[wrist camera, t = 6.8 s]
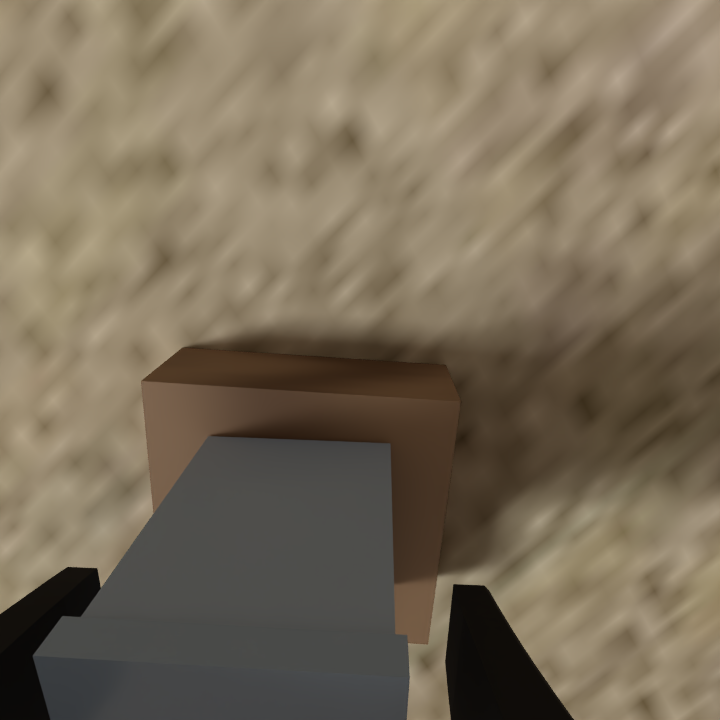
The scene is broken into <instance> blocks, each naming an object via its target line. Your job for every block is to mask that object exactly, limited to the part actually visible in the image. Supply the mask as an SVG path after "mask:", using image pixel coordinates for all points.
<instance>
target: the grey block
mask: <svg viewBox="0 0 720 720" xmlns="http://www.w3.org/2000/svg"><path fill="white" fill-rule="evenodd" d="M33 659H34V663H35V666H36V670H37V673H38V677H39V681H40V684H41V688H42V691H43V695H44V698H45V702H46V706H47V709H48V713H49V716H50V720H406V719H407V706H408V692H409V679H410V676H409V657H408V638H407V635H401V634H395V601H394V562H393V523H392V484H391V445H390V443H369V442H343V441H318V440H293V439H268V438H243V437H218V436H208V437H207V439H206V440H205V441H204V443H203V444H202V446H201V447H200V449H199V450H198V451H197V453H196V454H195V456H194V457H193V458H192V460H191V461H190V463H189V464H188V466H187V467H186V468H185V470H184V471H183V473H182V474H181V475H180V477H179V478H178V480H177V481H176V483H175V484H174V485H173V487H172V488H171V490H170V491H169V493H168V494H167V495H166V497H165V498H164V500H163V501H162V502H161V504H160V505H159V507H158V508H157V510H156V511H155V512H154V514H153V515H152V517H151V518H150V519H149V521H148V522H147V524H146V525H145V527H144V528H143V529H142V531H141V532H140V534H139V535H138V536H137V538H136V539H135V541H134V542H133V544H132V545H131V546H130V548H129V549H128V551H127V552H126V554H125V555H124V556H123V558H122V559H121V561H120V562H119V563H118V565H117V566H116V568H115V569H114V571H113V572H112V573H111V575H110V576H109V578H108V579H107V580H106V582H105V583H104V585H103V586H102V588H101V589H100V590H99V592H98V593H97V595H96V596H95V597H94V599H93V600H92V602H91V603H90V605H89V606H88V607H87V609H86V610H85V612H84V613H83V615H82V616H81V617H70V616H62V617H61V619H60V620H59V621H58V623H57V624H56V625H55V627H54V628H53V629H52V631H51V632H50V633H49V635H48V636H47V637H46V639H45V640H44V641H43V643H42V644H41V645H40V647H39V648H38V649H37V651H36V652H35V653H34V655H33Z"/></svg>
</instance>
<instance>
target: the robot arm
mask: <svg viewBox="0 0 720 720" xmlns="http://www.w3.org/2000/svg"><path fill="white" fill-rule="evenodd" d="M100 589H101V587H100V581H99V576H98V570H97V568H77V567H67V568H66V569H64V570H63V571H61V572H60V573H58V574H57V575H55V576H54V577H52V578H51V579H49V580H48V581H46V582H45V583H43V584H42V585H41V586H39V587H38V588H36V589H35V590H34V591H32V592H31V593H29V594H28V595H27V596H25V597H24V598H22V599H21V600H20V601H18V602H17V603H15V604H14V605H13V606H11V607H10V608H8V609H7V610H6V611H4V612H3V613H1V614H0V720H50V716H49V713H48V709H47V706H46V702H45V698H44V695H43V691H42V688H41V684H40V681H39V677H38V673H37V670H36V666H35V663H34V659H33V655H34V653H35V652H36V651H37V649H38V648H39V647H40V645H41V644H42V643H43V641H44V640H45V639H46V637H47V636H48V635H49V633H50V632H51V631H52V629H53V628H54V627H55V625H56V624H57V623H58V621H59V620H60V619H61V617H62V616H70V617H81V616H82V615H83V613H84V612H85V610H86V609H87V607H88V606H89V605H90V603H91V602H92V600H93V599H94V597H95V596H96V595H97V593H98V592H99V590H100ZM445 664H446V674H447V685H448V695H449V705H450V714H451V720H574V719H573V718H572V716H571V715H570V714H569V712H568V711H567V710H566V708H565V707H564V705H563V704H562V703H561V701H560V700H559V699H558V697H557V696H556V694H555V693H554V691H553V690H552V689H551V687H550V686H549V684H548V683H547V681H546V680H545V678H544V677H543V676H542V674H541V673H540V671H539V670H538V668H537V667H536V665H535V664H534V663H533V661H532V660H531V658H530V657H529V655H528V653H527V652H526V650H525V649H524V647H523V646H522V644H521V643H520V641H519V640H518V638H517V636H516V635H515V633H514V632H513V630H512V629H511V627H510V625H509V624H508V622H507V620H506V619H505V617H504V615H503V614H502V612H501V610H500V609H499V607H498V605H497V604H496V602H495V600H494V598H493V597H492V595H491V593H490V591H489V590H488V589H487V588H486V587H485V586H480V585H458V584H453V594H452V603H451V613H450V622H449V632H448V641H447V651H446V660H445Z"/></svg>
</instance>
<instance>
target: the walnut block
mask: <svg viewBox="0 0 720 720" xmlns="http://www.w3.org/2000/svg"><path fill="white" fill-rule="evenodd" d="M141 386H142V396H143V407H144V417H145V428H146V439H147V449H148V460H149V470H150V481H151V491H152V502H153V513H154V512H155V511H156V510H157V508H158V507H159V505H160V504H161V502H162V501H163V500H164V498H165V497H166V495H167V494H168V493H169V491H170V490H171V488H172V487H173V485H174V484H175V483H176V481H177V480H178V478H179V477H180V475H181V474H182V473H183V471H184V470H185V468H186V467H187V466H188V464H189V463H190V461H191V460H192V458H193V457H194V456H195V454H196V453H197V451H198V450H199V449H200V447H201V446H202V444H203V443H204V441H205V440H206V439H207V437H208V436H218V437H243V438H268V439H293V440H318V441H343V442H369V443H390V445H391V484H392V523H393V562H394V601H395V634H401V635H407V638H408V643H414V644H428V640H429V633H430V625H431V618H432V611H433V603H434V596H435V589H436V581H437V574H438V567H439V560H440V552H441V545H442V538H443V530H444V523H445V516H446V508H447V501H448V494H449V486H450V479H451V472H452V464H453V457H454V450H455V443H456V435H457V428H458V421H459V413H460V406H461V400H460V398H459V396H458V393H457V391H456V388H455V386H454V384H453V381H452V379H451V376H450V374H449V372H448V369H447V367H446V365H438V364H423V363H408V362H393V361H378V360H362V359H347V358H332V357H317V356H302V355H287V354H272V353H257V352H241V351H226V350H211V349H196V348H182V349H180V350H179V351H178V352H177V353H175V354H174V355H173V356H172V357H170V358H169V359H168V360H167V361H165V362H164V363H163V364H162V365H160V366H159V367H158V368H157V369H155V370H154V371H153V372H152V373H151V374H149V375H148V376H147V377H146V378H144V379H143V380H142V381H141Z"/></svg>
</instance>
